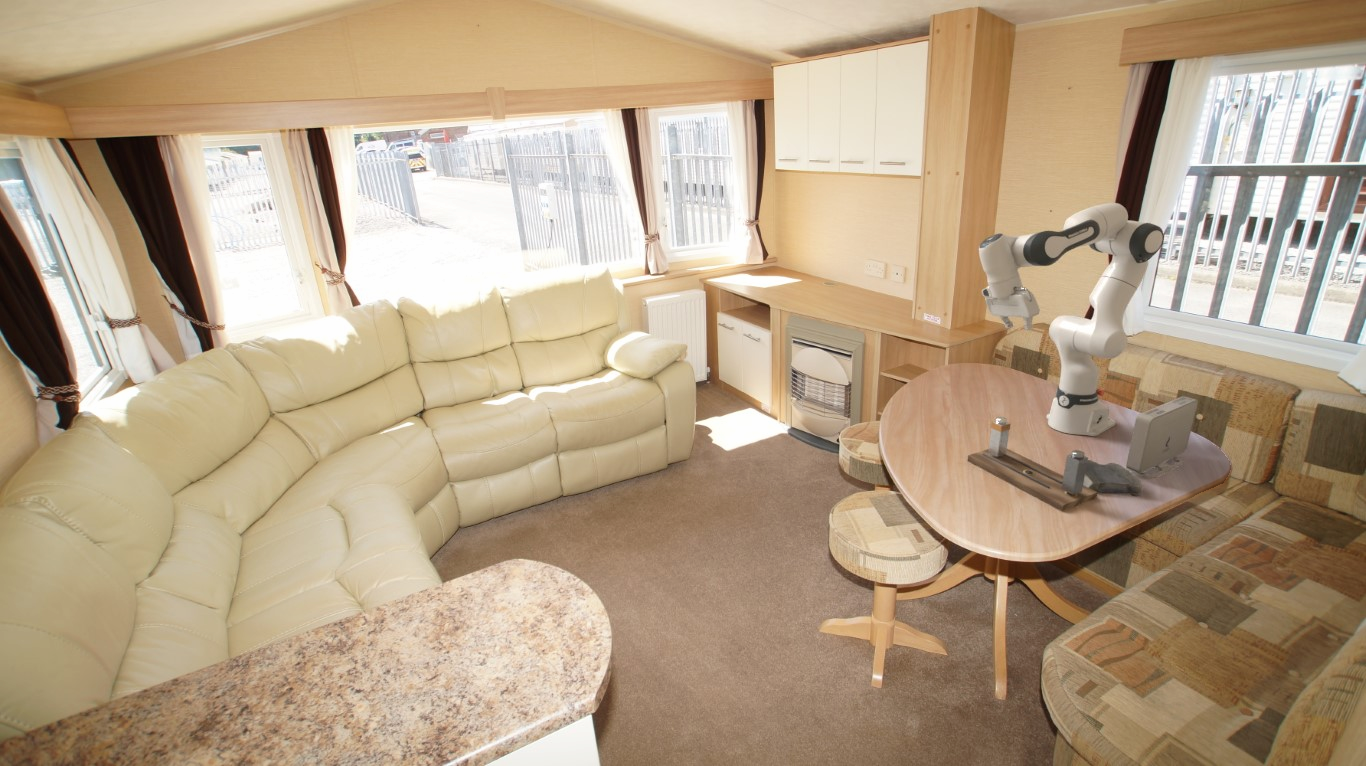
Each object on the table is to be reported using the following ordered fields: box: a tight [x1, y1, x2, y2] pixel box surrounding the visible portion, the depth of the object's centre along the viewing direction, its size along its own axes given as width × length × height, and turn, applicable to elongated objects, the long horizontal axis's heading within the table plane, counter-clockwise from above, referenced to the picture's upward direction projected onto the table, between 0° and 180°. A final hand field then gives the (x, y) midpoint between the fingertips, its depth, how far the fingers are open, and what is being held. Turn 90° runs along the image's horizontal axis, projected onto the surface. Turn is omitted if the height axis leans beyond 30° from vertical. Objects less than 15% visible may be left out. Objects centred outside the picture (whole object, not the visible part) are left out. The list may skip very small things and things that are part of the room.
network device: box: [1124, 395, 1199, 479], centre depth 193 cm, size 26×9×20 cm, turn 117°
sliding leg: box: [988, 416, 1011, 457], centre depth 201 cm, size 4×4×13 cm
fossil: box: [1083, 459, 1143, 497], centre depth 189 cm, size 15×16×4 cm
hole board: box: [967, 448, 1099, 512], centre depth 194 cm, size 14×34×3 cm, turn 23°
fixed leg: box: [1061, 449, 1089, 495], centre depth 179 cm, size 4×4×13 cm
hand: (1019, 328), depth 197 cm, fingers open, 8 cm apart
